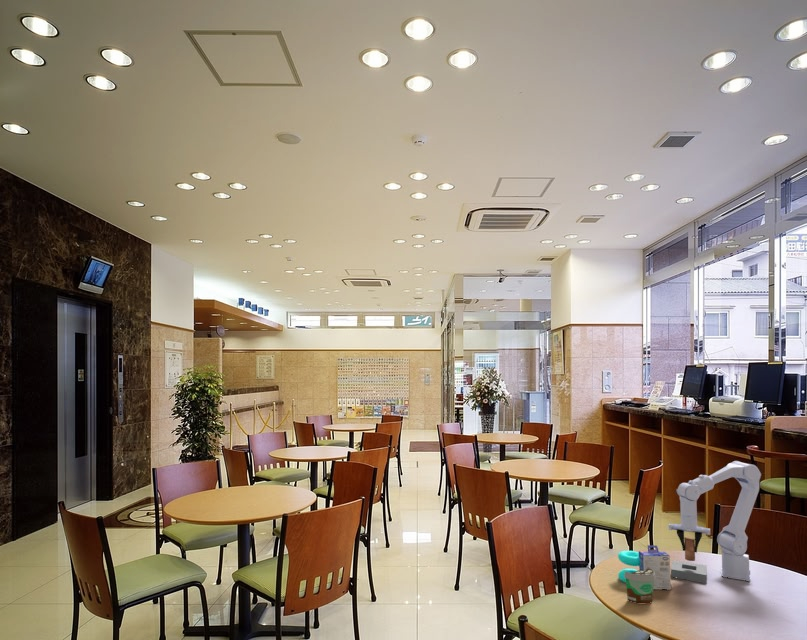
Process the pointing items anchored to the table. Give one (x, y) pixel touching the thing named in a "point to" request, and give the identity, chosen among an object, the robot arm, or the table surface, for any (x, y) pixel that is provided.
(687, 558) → the peg
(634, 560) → the donuts
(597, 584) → the table surface
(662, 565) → the ink cartridge box
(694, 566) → the socket block
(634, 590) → the food container
